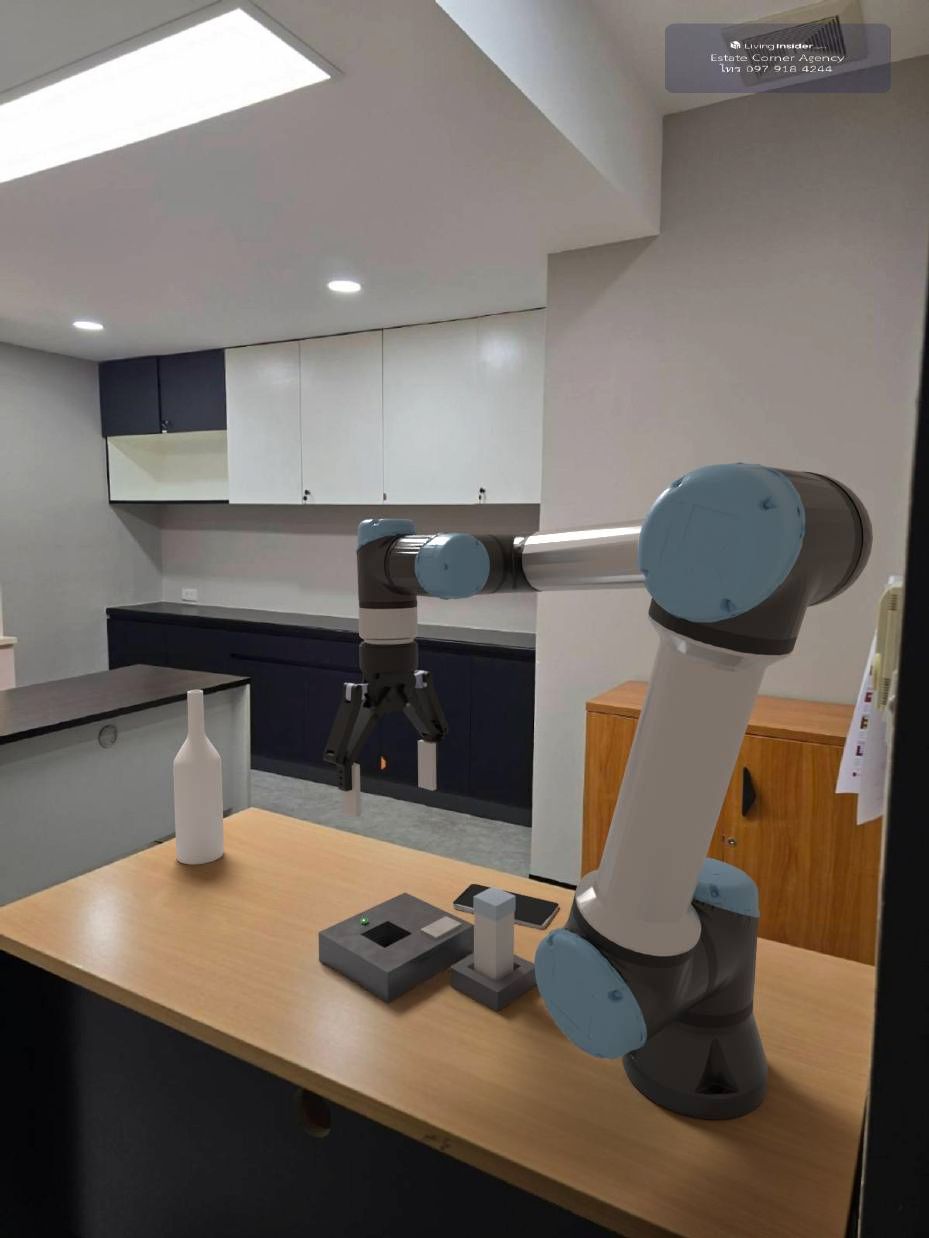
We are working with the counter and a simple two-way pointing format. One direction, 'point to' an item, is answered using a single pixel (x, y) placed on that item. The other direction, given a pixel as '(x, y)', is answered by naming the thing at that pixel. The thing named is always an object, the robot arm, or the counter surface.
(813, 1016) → the counter surface
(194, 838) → the bottle
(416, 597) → the robot arm
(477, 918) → the plug
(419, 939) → the panel
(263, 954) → the counter surface
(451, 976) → the grey square ring
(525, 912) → the smartphone
